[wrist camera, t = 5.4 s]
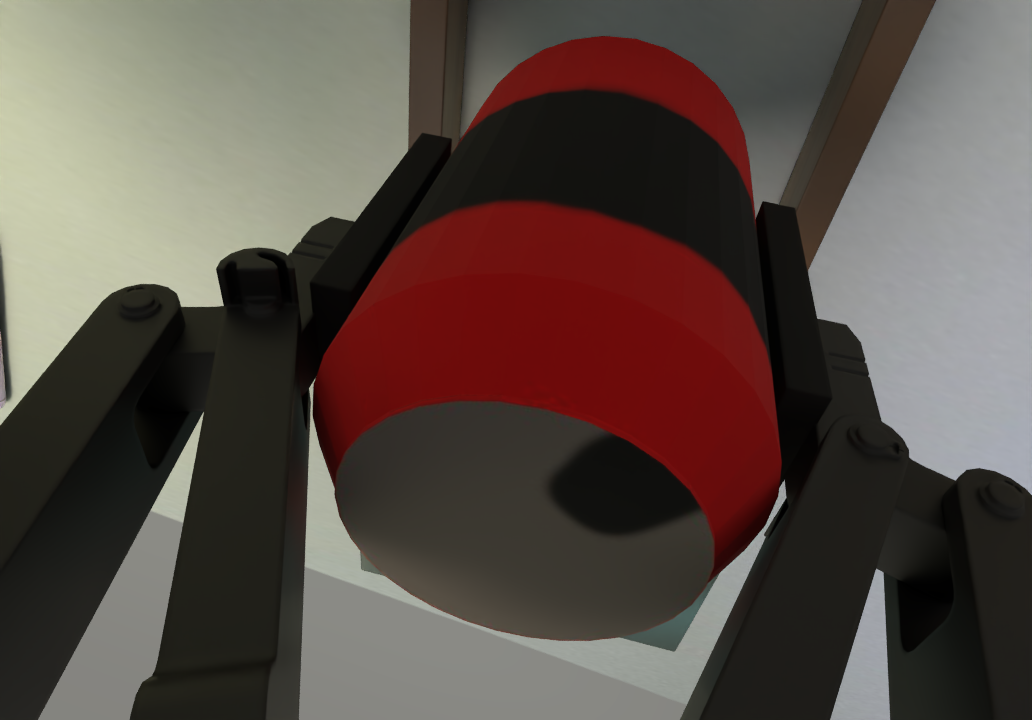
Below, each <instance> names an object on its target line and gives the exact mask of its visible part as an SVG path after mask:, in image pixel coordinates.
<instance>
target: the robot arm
mask: <svg viewBox="0 0 1032 720" xmlns="http://www.w3.org/2000/svg"><path fill="white" fill-rule="evenodd" d="M451 147H452V139H451V138H446V137H441V136H436V135H431V134H426V133H421V135H420V136H419V137H418V139H417V140H416V141H415V143H414V144H413V145H412V147H411V148H410V149H409V151H408V152H407V153H406V155H405V156H404V157H403V159H402V160H401V161H400V163H399V164H398V165H397V167H396V168H395V169H394V171H393V172H392V173H391V175H390V176H389V177H388V179H387V180H386V181H385V183H384V184H383V185H382V187H381V188H380V189H379V191H378V192H377V193H376V195H375V196H374V197H373V199H372V200H371V201H370V202H369V204H368V205H367V206H366V208H365V209H364V210H363V212H362V213H361V214H360V216H359V217H358V218H357V220H356V221H355V222H353V221H348V220H344V219H339V218H334V217H329V218H328V219H326V220H324V221H322V222H320V223H318V224H316V225H314V226H312V227H311V229H310V230H309V231H308V232H307V233H306V235H305V236H304V237H303V238H302V239H301V242H299V243H298V244H297V245H296V246H295V248H294V249H293V251H292V253H290V254H289V255H288V256H287V255H286V254H285V253H283V252H280V251H277V250H275V249H268V248H250V249H243V250H240V251H237V252H234V253H231V254H230V255H228V256H227V257H225V258H224V259H223V260H221V261H220V263H219V265H218V267H217V268H216V270H217V275H218V280H219V285H220V290H221V294H222V299H223V304H224V306H220V307H181V305H180V301H179V298H178V296H177V294H176V293H175V292H174V291H172V290H171V289H169V288H168V287H164V286H160V285H156V284H139V285H134V286H129V287H125V288H123V289H121V290H118V291H116V292H114V293H112V294H111V295H109V296H108V297H107V298H106V299H105V300H103V301H102V302H101V304H100V305H99V306H98V307H97V308H96V310H95V311H94V312H93V313H92V315H91V316H90V317H89V318H88V319H87V321H86V322H85V323H84V324H83V325H82V327H81V328H80V329H79V330H78V332H77V333H76V334H75V335H74V336H73V338H72V339H71V340H70V341H69V343H68V344H67V345H66V346H65V347H64V349H63V350H62V351H61V352H60V353H59V355H58V356H57V357H56V358H55V360H54V361H53V362H52V363H51V364H50V366H49V367H48V368H47V369H46V371H45V372H44V373H43V374H42V375H41V377H40V378H39V379H38V380H37V381H36V383H35V384H34V385H33V386H32V388H31V389H30V390H29V391H28V392H27V394H26V395H25V396H24V397H23V399H22V400H21V401H20V402H19V403H18V405H17V406H16V407H15V408H14V410H13V411H12V412H11V413H10V414H9V416H8V417H7V418H6V419H5V420H4V422H3V423H2V424H1V425H0V720H38V718H39V716H40V715H41V713H42V711H43V709H44V707H45V705H46V703H47V702H48V700H49V698H50V696H51V694H52V692H53V690H54V688H55V687H56V685H57V683H58V681H59V679H60V677H61V676H62V674H63V672H64V670H65V668H66V666H67V664H68V662H69V661H70V659H71V657H72V655H73V653H74V651H75V649H76V648H77V646H78V644H79V642H80V640H81V638H82V637H83V635H84V633H85V631H86V629H87V627H88V625H89V623H90V622H91V620H92V618H93V616H94V614H95V612H96V610H97V608H98V607H99V605H100V603H101V601H102V599H103V597H104V595H105V594H106V592H107V590H108V588H109V586H110V584H111V583H112V581H113V579H114V577H115V575H116V573H117V571H118V569H119V568H120V566H121V564H122V562H123V560H124V558H125V556H126V555H127V553H128V551H129V549H130V547H131V545H132V544H133V542H134V540H135V538H136V536H137V534H138V532H139V531H140V529H141V527H142V525H143V523H144V521H145V519H146V517H147V516H148V513H149V512H150V510H151V508H152V506H153V504H154V503H155V501H156V499H157V497H158V495H159V493H160V491H161V490H162V488H163V486H164V484H165V482H166V480H167V478H168V477H169V475H170V473H171V471H172V469H173V467H174V465H175V464H176V462H177V460H178V458H179V456H180V454H181V452H182V451H183V449H184V447H185V445H186V443H187V441H188V439H189V438H190V436H191V434H192V432H193V430H194V428H195V426H196V425H197V423H198V421H199V419H200V417H201V415H202V413H203V412H204V415H203V421H202V426H201V431H200V437H199V442H198V447H197V453H196V458H195V463H194V469H193V474H192V480H191V485H190V490H189V496H188V501H187V506H186V512H185V517H184V522H183V528H182V533H181V538H180V544H179V549H178V554H177V560H176V565H175V570H174V576H173V581H172V587H171V592H170V597H169V603H168V608H167V614H166V619H165V624H164V629H163V635H162V640H161V645H160V651H159V656H158V661H157V665H156V668H155V671H154V673H153V675H152V676H151V677H150V678H148V679H147V680H145V681H144V682H142V684H141V686H140V688H139V690H138V692H137V694H136V697H135V701H134V704H133V708H132V712H131V716H130V720H299V697H300V696H299V695H300V671H301V643H302V617H303V591H304V590H303V589H304V565H305V539H306V512H307V486H308V459H309V433H310V406H311V401H310V393H309V387H310V386H311V384H312V382H313V381H314V379H315V378H316V376H317V373H318V371H319V368H320V365H321V362H322V359H323V356H324V354H325V352H326V351H327V349H328V348H329V346H330V344H331V343H332V341H333V340H334V338H335V337H336V335H337V333H338V332H339V330H340V329H341V327H342V326H343V324H344V322H345V321H346V319H347V318H348V316H349V315H350V313H351V311H352V310H353V308H354V307H355V305H356V304H357V302H358V300H359V299H360V297H361V296H362V294H363V293H364V291H365V289H366V288H367V286H368V285H369V283H370V282H371V280H372V278H373V277H374V275H375V274H376V272H377V271H378V269H379V267H380V266H381V264H382V263H383V261H384V260H385V258H386V256H387V255H388V253H389V252H390V250H391V249H392V247H393V245H394V244H395V242H396V241H397V239H398V238H399V236H400V234H401V233H402V231H403V230H404V228H405V227H406V225H407V223H408V222H409V220H410V219H411V217H412V216H413V214H414V212H415V211H416V209H417V208H418V206H419V205H420V203H421V201H422V200H423V198H424V197H425V195H426V193H427V192H428V190H429V189H430V187H431V186H432V184H433V182H434V181H435V179H436V178H437V176H438V175H439V173H440V171H441V170H442V168H443V167H444V165H445V164H446V162H447V160H448V159H449V157H450V156H451ZM756 229H757V238H758V247H759V256H760V266H761V275H762V284H763V294H764V303H765V312H766V321H767V331H768V340H769V349H770V359H771V368H772V377H773V387H774V396H775V405H776V414H777V424H778V433H779V442H780V452H781V461H782V465H781V475H780V484H779V487H780V486H781V484H782V482H783V481H784V479H785V487H786V496H787V498H786V500H785V501H784V503H783V504H782V506H781V508H780V509H779V511H778V513H777V514H776V516H775V517H774V519H773V521H772V522H771V524H770V526H769V527H768V529H767V530H766V532H765V534H764V536H766V538H765V540H764V543H763V545H762V547H761V549H760V551H759V553H758V555H757V557H756V560H755V562H754V564H753V566H752V568H751V570H750V572H749V574H748V577H747V579H746V581H745V583H744V585H743V587H742V589H741V591H740V594H739V596H738V598H737V600H736V602H735V604H734V606H733V608H732V611H731V613H730V615H729V617H728V619H727V621H726V623H725V625H724V628H723V630H722V632H721V634H720V636H719V638H718V640H717V642H716V645H715V647H714V649H713V651H712V653H711V655H710V657H709V659H708V661H707V664H706V666H705V668H704V670H703V672H702V674H701V676H700V678H699V681H698V683H697V685H696V687H695V689H694V691H693V693H692V695H691V698H690V700H689V702H688V704H687V706H686V708H685V710H684V712H683V715H682V717H681V719H680V720H830V718H831V715H832V711H833V708H834V705H835V702H836V698H837V695H838V692H839V688H840V685H841V682H842V679H843V675H844V672H845V669H846V665H847V662H848V659H849V656H850V652H851V649H852V646H853V642H854V639H855V636H856V633H857V629H858V626H859V623H860V619H861V616H862V613H863V610H864V606H865V603H866V600H867V596H868V593H869V590H870V587H871V583H872V580H873V577H874V573H875V570H876V568H877V569H878V570H880V571H882V572H884V591H885V613H886V635H887V657H888V679H889V701H890V720H1032V495H1031V494H1030V493H1029V492H1028V491H1027V490H1026V489H1025V488H1024V487H1022V486H1021V485H1019V484H1018V483H1016V482H1015V481H1014V480H1012V479H1011V478H1009V477H1006V476H1004V475H1002V474H1000V473H997V472H995V471H991V470H986V469H980V468H978V469H970V470H966V471H965V472H964V473H963V474H962V475H960V476H959V477H958V479H957V480H956V481H955V480H953V479H950V478H948V477H946V476H944V475H942V474H939V473H937V472H935V471H933V470H931V469H928V468H926V467H924V466H922V465H920V464H919V463H917V462H915V461H913V460H911V459H910V458H909V449H908V448H907V446H906V444H905V442H904V440H903V439H902V438H901V437H900V436H899V435H898V434H897V433H896V432H895V431H894V430H893V429H892V428H891V427H889V426H888V425H886V424H884V423H883V422H882V421H881V417H880V414H879V410H878V406H877V402H876V398H875V395H874V391H873V387H872V383H871V380H870V377H868V375H869V372H868V368H867V364H866V363H865V357H864V353H863V349H862V346H861V342H860V341H859V340H858V339H857V337H856V336H855V335H854V334H853V332H852V331H851V330H850V329H849V327H848V326H847V325H844V324H840V323H835V322H830V321H826V320H821V319H817V316H816V311H815V306H814V301H813V296H812V291H811V286H810V281H809V276H808V271H807V266H806V260H805V255H804V250H803V245H802V240H801V235H800V230H799V225H798V220H797V215H796V210H795V208H794V207H789V206H784V205H779V204H774V203H769V202H764V201H763V202H762V205H761V207H760V210H759V212H758V215H757V217H756Z"/></svg>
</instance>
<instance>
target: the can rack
mask: <svg viewBox="0 0 1032 720" xmlns="http://www.w3.org/2000/svg"><path fill="white" fill-rule="evenodd" d="M935 2H936V0H863V1H862V4H861V6H860V9H859V11H858V14H857V16H856V19H855V21H854V23H853V26H852V28H851V31H850V33H849V36H848V38H847V40H846V43H845V45H844V48H843V50H842V53H841V55H840V58H839V60H838V62H837V65H836V67H835V70H834V72H833V75H832V77H831V79H830V82H829V84H828V87H827V89H826V92H825V94H824V97H823V99H822V101H821V104H820V106H819V109H818V111H817V114H816V116H815V118H814V121H813V123H812V126H811V128H810V131H809V133H808V136H807V138H806V140H805V143H804V145H803V148H802V150H801V153H800V155H799V157H798V160H797V162H796V165H795V167H794V170H793V172H792V174H791V177H790V179H789V182H788V184H787V187H786V189H785V192H784V194H783V196H782V199H781V201H780V204H779V205H784V206H789V207H794V208H795V210H796V215H797V220H798V225H799V230H800V235H801V240H802V245H803V250H804V255H805V260H806V266H807V271H808V269H809V267H810V265H811V263H812V261H813V259H814V257H815V255H816V252H817V250H818V248H819V246H820V244H821V242H822V240H823V238H824V236H825V234H826V231H827V229H828V227H829V225H830V223H831V221H832V219H833V217H834V215H835V212H836V210H837V208H838V206H839V204H840V202H841V200H842V198H843V196H844V193H845V191H846V189H847V187H848V185H849V183H850V181H851V179H852V177H853V174H854V172H855V170H856V168H857V166H858V164H859V162H860V160H861V158H862V155H863V153H864V151H865V149H866V147H867V145H868V143H869V141H870V139H871V137H872V134H873V132H874V130H875V128H876V126H877V124H878V122H879V120H880V118H881V115H882V113H883V111H884V109H885V107H886V105H887V103H888V101H889V99H890V96H891V94H892V92H893V90H894V88H895V86H896V84H897V82H898V80H899V77H900V75H901V73H902V71H903V69H904V67H905V65H906V63H907V61H908V58H909V56H910V54H911V52H912V50H913V48H914V46H915V44H916V42H917V40H918V37H919V35H920V33H921V31H922V29H923V27H924V25H925V23H926V21H927V18H928V16H929V14H930V12H931V10H932V8H933V6H934V4H935ZM467 12H468V0H411V8H410V75H409V142H408V151H409V149H410V148H411V147H412V145H413V144H414V143H415V141H416V140H417V139H418V137H419V136H420V135H421V133H426V134H431V135H436V136H441V137H446V138H451V139H452V147H451V154H452V153H453V151H454V149H455V148H456V146H457V145H458V143H459V134H460V119H461V104H462V88H463V73H464V58H465V42H466V27H467Z"/></svg>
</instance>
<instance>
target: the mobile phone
mask: <svg viewBox="0 0 1032 720" xmlns="http://www.w3.org/2000/svg"><path fill="white" fill-rule="evenodd" d="M5 403H6V391H5V379H4V367H3V355H2V343H1V331H0V409H1V408H2V407H3V406H4V405H5Z"/></svg>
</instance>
